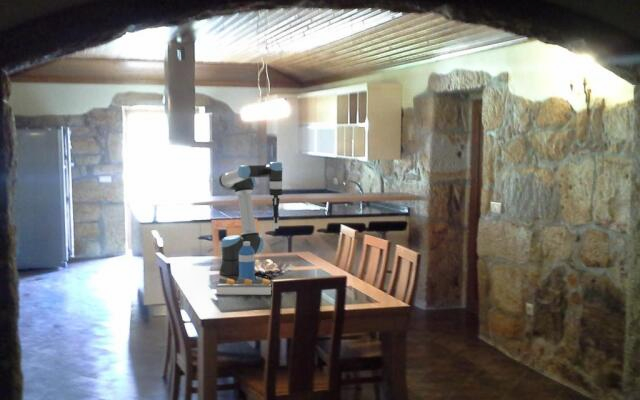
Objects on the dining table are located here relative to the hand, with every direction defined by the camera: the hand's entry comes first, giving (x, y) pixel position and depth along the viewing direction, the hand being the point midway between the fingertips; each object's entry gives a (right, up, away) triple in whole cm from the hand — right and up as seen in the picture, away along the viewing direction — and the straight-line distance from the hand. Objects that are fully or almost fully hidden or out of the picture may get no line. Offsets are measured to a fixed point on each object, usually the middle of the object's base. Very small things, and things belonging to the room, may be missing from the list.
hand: (276, 228), depth 406 cm
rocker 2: (-16, -29, -22) cm, 40 cm away
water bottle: (-17, -33, -1) cm, 37 cm away
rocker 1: (-26, -29, -22) cm, 45 cm away
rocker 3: (-6, -29, -22) cm, 37 cm away
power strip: (-16, -35, -21) cm, 44 cm away
